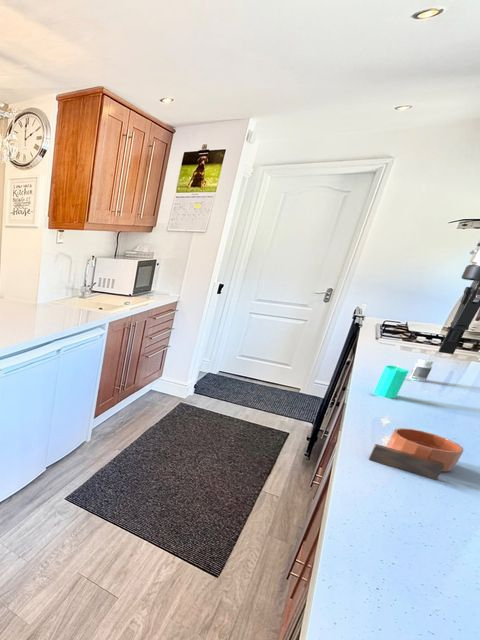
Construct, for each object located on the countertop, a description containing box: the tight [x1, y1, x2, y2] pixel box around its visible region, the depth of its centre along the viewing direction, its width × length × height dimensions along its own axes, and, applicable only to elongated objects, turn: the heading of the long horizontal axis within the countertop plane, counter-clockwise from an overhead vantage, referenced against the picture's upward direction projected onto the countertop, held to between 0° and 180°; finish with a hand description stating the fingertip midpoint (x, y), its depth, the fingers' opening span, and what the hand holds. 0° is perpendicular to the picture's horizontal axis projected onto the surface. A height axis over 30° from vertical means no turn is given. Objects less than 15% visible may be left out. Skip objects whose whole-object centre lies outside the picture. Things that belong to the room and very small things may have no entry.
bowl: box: [385, 427, 464, 472], centre depth 103 cm, size 12×12×6 cm
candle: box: [373, 364, 409, 399], centre depth 145 cm, size 6×6×12 cm
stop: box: [368, 443, 444, 481], centre depth 99 cm, size 12×2×4 cm, turn 45°
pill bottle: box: [408, 358, 434, 383], centre depth 163 cm, size 5×5×8 cm
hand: (445, 352), depth 112 cm, fingers closed
